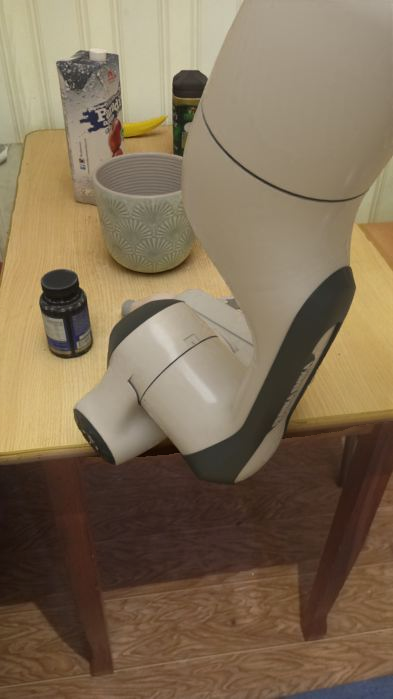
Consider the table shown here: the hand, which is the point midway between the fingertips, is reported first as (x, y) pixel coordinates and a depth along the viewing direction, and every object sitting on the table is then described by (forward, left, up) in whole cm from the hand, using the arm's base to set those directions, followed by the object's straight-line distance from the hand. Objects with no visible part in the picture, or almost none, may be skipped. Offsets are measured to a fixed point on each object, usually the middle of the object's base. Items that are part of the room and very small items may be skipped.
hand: (276, 313), depth 72 cm
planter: (+26, -17, -8) cm, 32 cm away
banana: (+54, -67, -8) cm, 86 cm away
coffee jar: (+35, -59, -8) cm, 69 cm away
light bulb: (+18, 0, -8) cm, 19 cm away
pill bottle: (+27, +8, -8) cm, 29 cm away
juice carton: (+45, -35, -8) cm, 57 cm away
